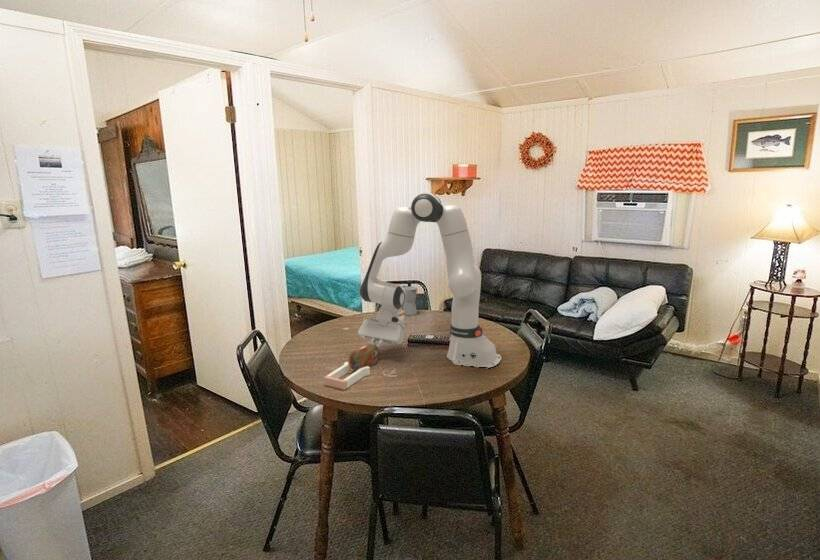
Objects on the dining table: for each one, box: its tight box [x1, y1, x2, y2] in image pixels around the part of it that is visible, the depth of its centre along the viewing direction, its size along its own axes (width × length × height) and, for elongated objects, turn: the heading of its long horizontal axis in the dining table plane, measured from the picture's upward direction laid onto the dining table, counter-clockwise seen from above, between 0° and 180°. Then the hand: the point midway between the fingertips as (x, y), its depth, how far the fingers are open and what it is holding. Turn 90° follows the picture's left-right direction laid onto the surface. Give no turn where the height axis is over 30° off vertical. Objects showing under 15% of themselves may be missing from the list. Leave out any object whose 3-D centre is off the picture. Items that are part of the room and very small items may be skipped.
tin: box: [348, 343, 380, 372], centre depth 174 cm, size 15×3×8 cm, turn 143°
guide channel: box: [323, 361, 371, 391], centre depth 164 cm, size 12×16×3 cm
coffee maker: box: [400, 281, 418, 317], centre depth 244 cm, size 15×9×18 cm, turn 45°
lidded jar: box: [398, 308, 405, 322], centre depth 223 cm, size 11×11×9 cm
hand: (374, 349), depth 181 cm, fingers closed
